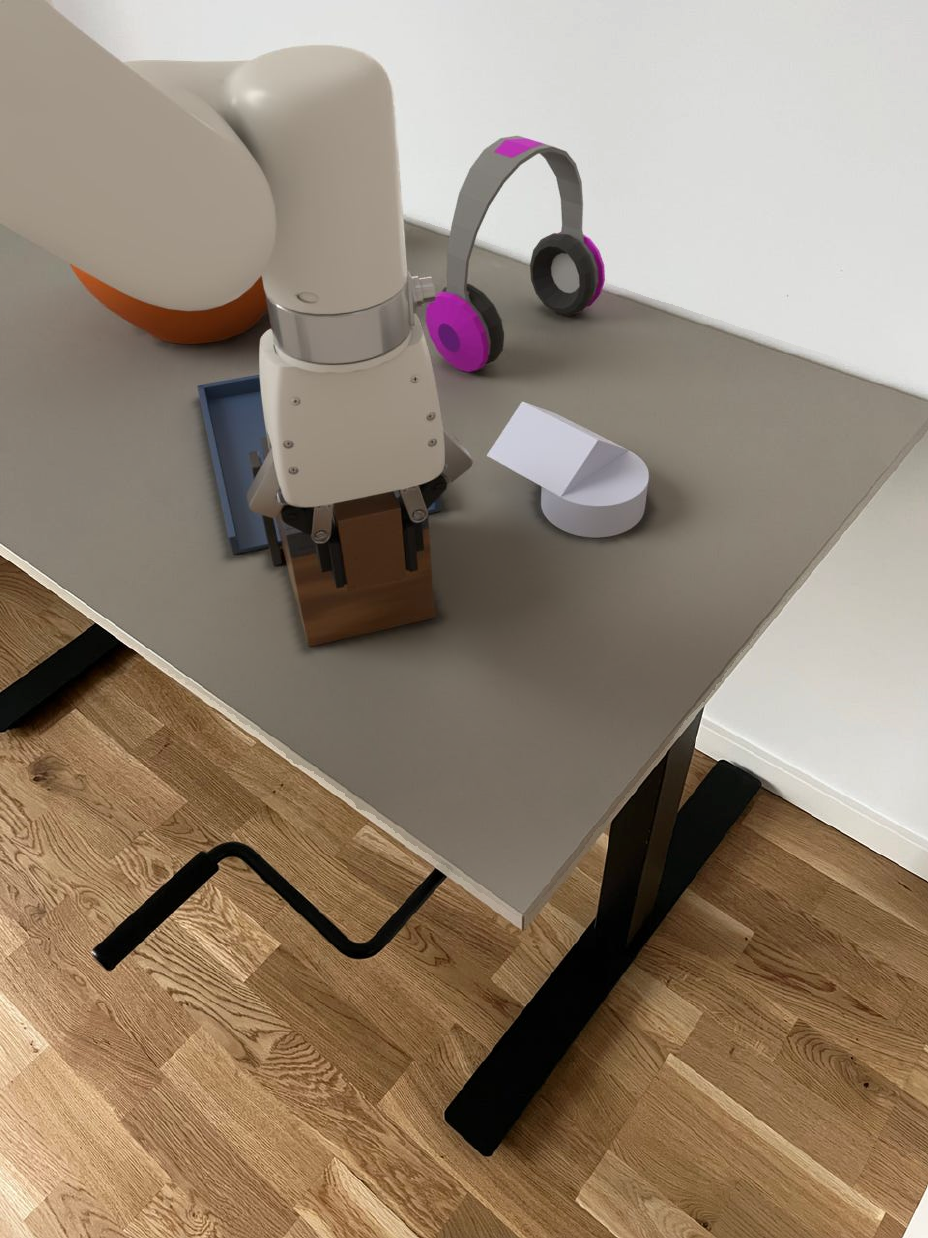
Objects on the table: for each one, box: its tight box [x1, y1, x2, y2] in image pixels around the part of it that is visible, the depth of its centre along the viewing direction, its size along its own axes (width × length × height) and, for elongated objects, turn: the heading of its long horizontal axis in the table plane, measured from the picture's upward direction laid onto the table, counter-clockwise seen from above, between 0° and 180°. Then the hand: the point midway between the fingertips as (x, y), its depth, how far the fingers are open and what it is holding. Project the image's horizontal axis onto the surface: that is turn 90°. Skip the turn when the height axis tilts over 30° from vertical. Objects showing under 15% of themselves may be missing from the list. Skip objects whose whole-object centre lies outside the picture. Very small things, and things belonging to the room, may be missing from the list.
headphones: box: [425, 135, 606, 373], centre depth 100 cm, size 21×9×20 cm, turn 136°
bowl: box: [68, 263, 268, 345], centre depth 109 cm, size 25×25×10 cm
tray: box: [196, 373, 442, 555], centre depth 92 cm, size 25×18×2 cm
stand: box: [248, 451, 436, 648], centre depth 76 cm, size 12×12×10 cm
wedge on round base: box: [486, 401, 650, 538], centre depth 85 cm, size 9×7×13 cm
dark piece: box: [260, 437, 430, 591], centre depth 69 cm, size 18×10×7 cm, turn 17°
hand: (372, 564), depth 66 cm, fingers open, 4 cm apart
